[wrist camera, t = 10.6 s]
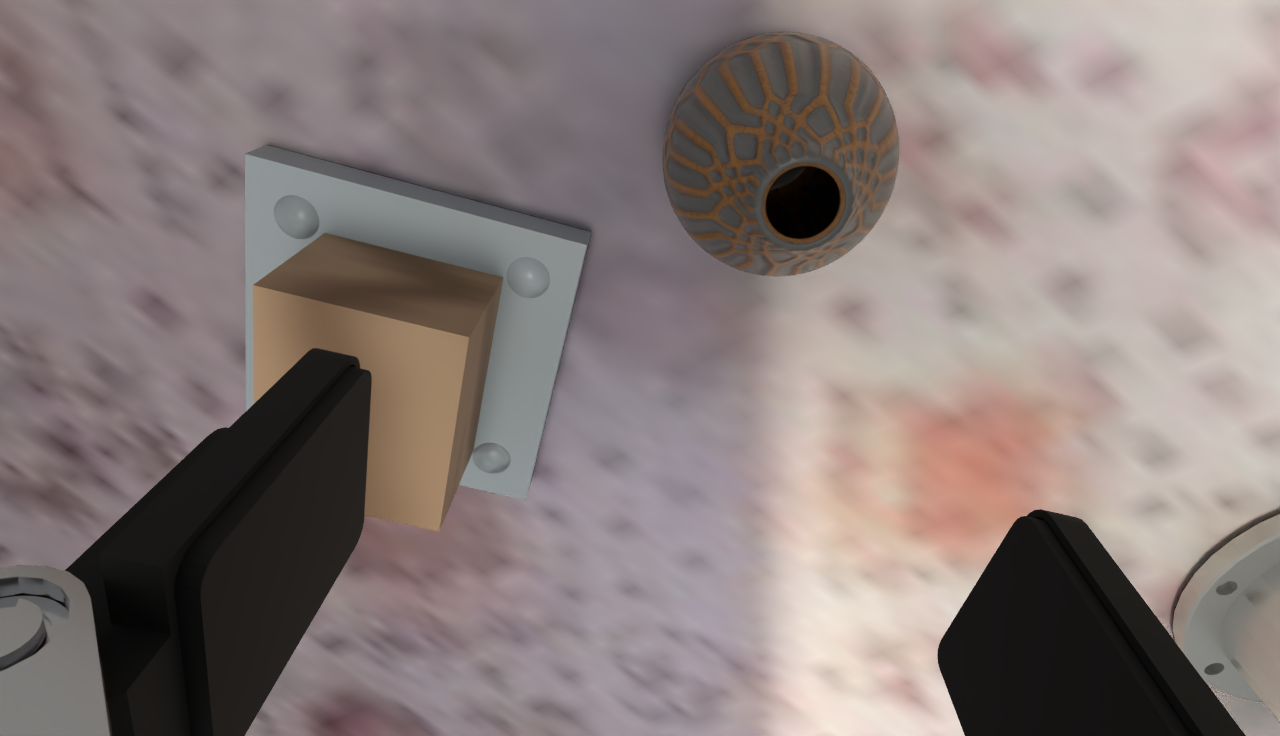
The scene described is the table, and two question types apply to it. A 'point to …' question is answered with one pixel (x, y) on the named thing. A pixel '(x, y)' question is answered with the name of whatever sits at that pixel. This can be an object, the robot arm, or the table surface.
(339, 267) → the walnut brick
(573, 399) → the table surface
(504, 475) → the build plate
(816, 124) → the vase
